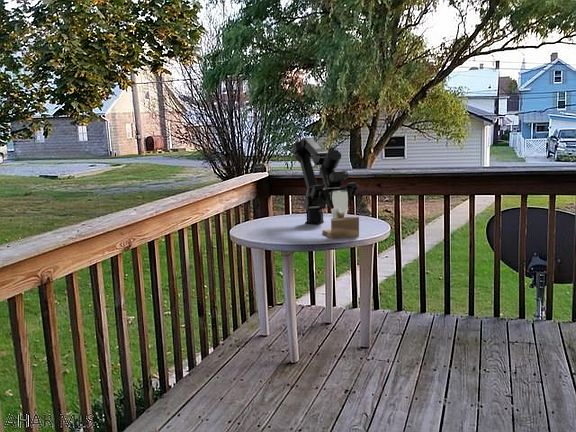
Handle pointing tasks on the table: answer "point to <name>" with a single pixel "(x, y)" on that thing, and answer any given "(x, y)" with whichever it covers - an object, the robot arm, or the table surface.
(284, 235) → the table surface
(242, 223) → the table surface
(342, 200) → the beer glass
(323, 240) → the table surface
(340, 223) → the cleat board
